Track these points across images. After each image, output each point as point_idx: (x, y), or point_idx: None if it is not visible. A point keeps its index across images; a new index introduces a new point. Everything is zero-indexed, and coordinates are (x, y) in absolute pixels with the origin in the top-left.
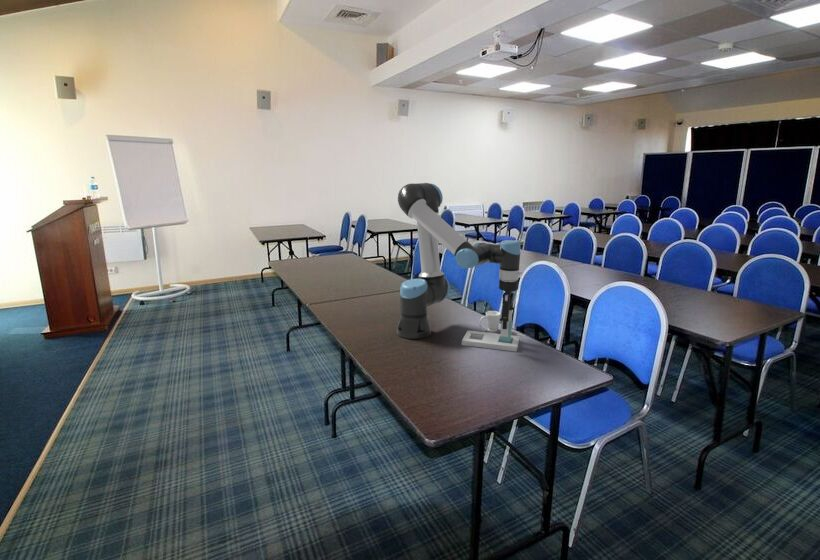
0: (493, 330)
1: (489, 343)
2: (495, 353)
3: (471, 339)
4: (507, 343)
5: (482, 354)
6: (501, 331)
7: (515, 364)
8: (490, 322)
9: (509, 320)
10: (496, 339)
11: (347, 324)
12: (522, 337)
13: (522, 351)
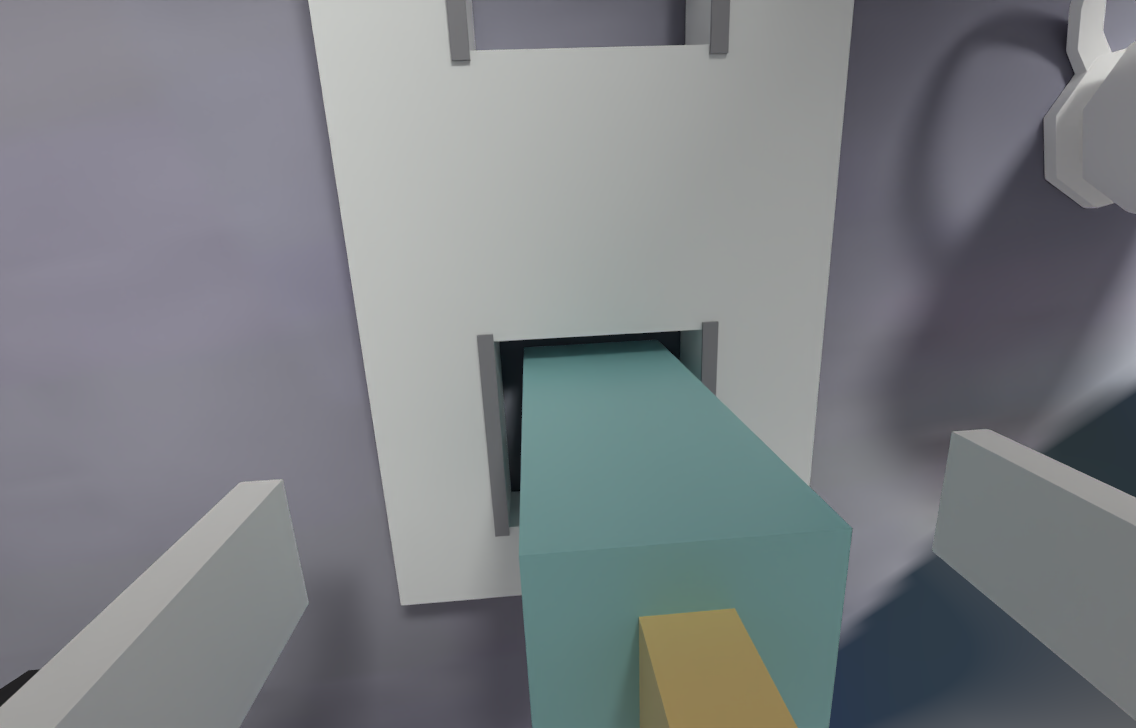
0: (1076, 153)
1: (351, 222)
2: (232, 339)
3: None
4: (473, 478)
5: (91, 167)
6: (170, 560)
7: (39, 607)
8: None
9: (810, 721)
10: (574, 299)
11: None
12: (888, 549)
13: (454, 613)
